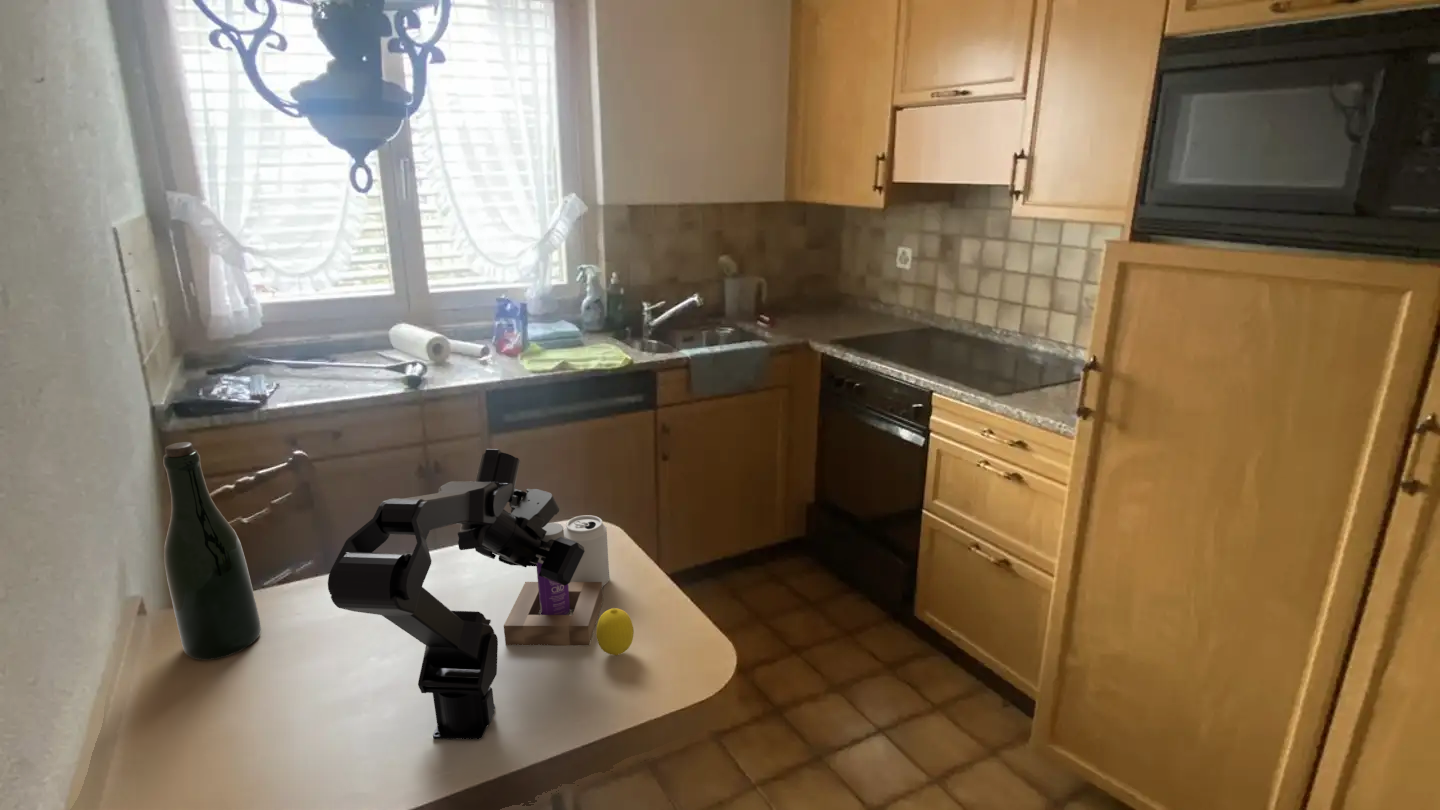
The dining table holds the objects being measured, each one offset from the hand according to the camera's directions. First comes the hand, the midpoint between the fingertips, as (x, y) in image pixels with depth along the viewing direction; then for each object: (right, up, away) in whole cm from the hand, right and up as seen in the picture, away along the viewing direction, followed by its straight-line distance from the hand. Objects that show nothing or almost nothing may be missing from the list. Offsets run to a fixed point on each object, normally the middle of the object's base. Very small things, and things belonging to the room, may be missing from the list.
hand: (558, 567), depth 126 cm
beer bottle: (-52, -11, -3) cm, 53 cm away
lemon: (+10, -12, -7) cm, 17 cm away
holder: (-1, -9, +2) cm, 9 cm away
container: (-1, -8, +1) cm, 8 cm away
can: (+3, -6, +13) cm, 15 cm away
